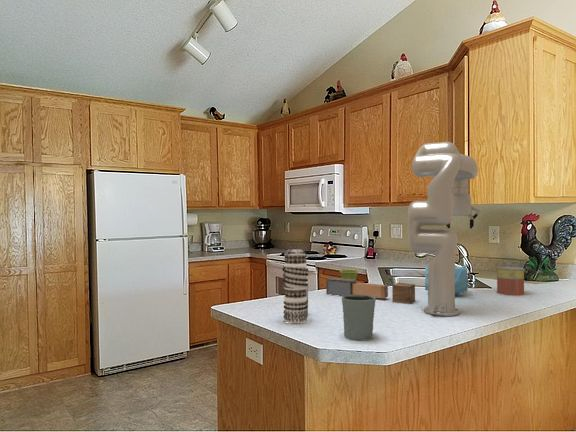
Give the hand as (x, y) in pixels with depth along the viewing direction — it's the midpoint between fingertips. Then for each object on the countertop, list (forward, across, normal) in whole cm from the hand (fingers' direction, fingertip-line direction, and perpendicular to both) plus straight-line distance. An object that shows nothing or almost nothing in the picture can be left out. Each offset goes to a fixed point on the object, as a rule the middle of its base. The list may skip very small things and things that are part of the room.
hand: (459, 228), depth 196 cm
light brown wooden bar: (+31, -39, -28) cm, 57 cm away
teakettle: (+31, -5, -5) cm, 31 cm away
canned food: (+31, +20, +12) cm, 39 cm away
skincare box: (+31, -47, -71) cm, 91 cm away
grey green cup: (+31, -18, -87) cm, 94 cm away
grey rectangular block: (+31, -48, -28) cm, 63 cm away
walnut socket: (+31, -19, -30) cm, 47 cm away
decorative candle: (+31, -44, -80) cm, 97 cm away
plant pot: (+31, -51, -10) cm, 60 cm away
